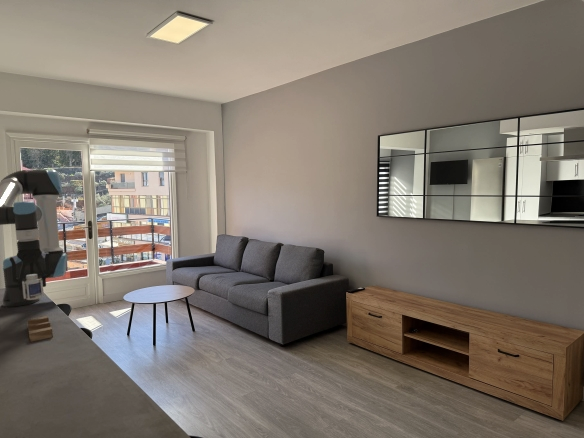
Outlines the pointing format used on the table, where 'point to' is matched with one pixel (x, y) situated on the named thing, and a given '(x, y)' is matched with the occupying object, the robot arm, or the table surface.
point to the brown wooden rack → (39, 328)
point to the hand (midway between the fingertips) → (33, 296)
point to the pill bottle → (32, 287)
